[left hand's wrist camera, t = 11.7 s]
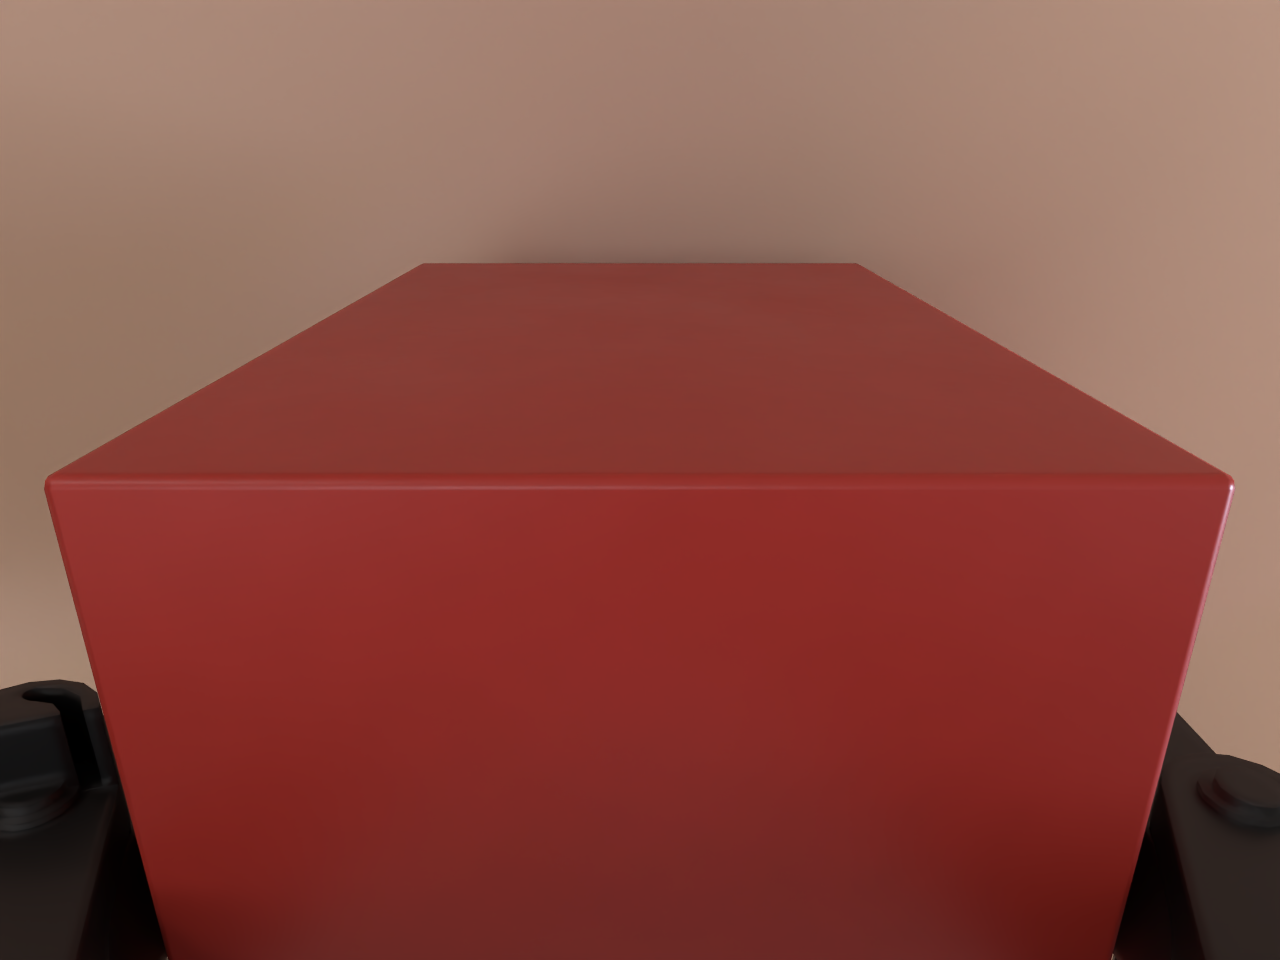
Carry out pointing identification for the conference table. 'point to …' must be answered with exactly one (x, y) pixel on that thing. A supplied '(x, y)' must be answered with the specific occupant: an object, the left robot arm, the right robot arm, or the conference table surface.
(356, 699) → the brick
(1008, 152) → the conference table surface
